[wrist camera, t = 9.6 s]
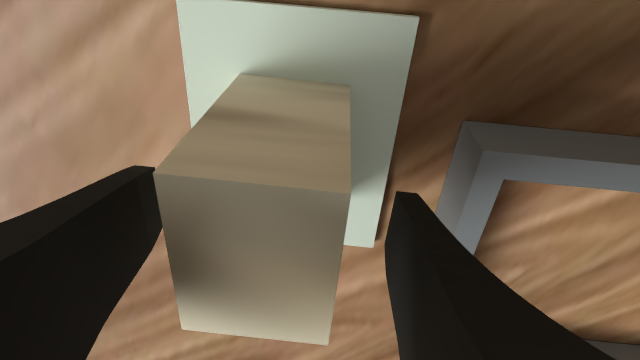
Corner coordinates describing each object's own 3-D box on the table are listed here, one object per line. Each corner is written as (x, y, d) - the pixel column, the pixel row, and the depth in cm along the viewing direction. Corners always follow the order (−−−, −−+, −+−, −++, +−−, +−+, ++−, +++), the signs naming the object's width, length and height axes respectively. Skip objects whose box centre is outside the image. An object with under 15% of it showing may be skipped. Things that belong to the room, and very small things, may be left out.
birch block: (335, 198, 16) (328, 345, 10) (243, 188, 16) (182, 329, 10) (349, 85, 13) (351, 193, 7) (239, 73, 13) (152, 173, 7)
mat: (372, 241, 18) (372, 247, 17) (206, 225, 18) (203, 230, 17) (417, 15, 12) (419, 17, 12) (180, -6, 12) (175, -5, 12)
